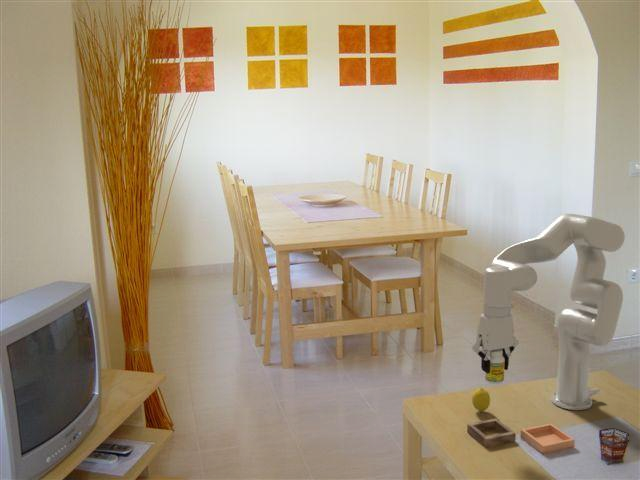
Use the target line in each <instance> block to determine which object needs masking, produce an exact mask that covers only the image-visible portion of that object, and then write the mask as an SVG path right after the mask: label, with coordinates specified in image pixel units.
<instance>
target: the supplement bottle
mask: <svg viewBox="0 0 640 480" xmlns="http://www.w3.org/2000/svg"><path fill="white" fill-rule="evenodd" d="M488 360H490V373H486V372H484V373H485V375H484V376H485V377H484V380H485V381H486V382H487V383H489V384H493V385H499V384H503V383H504V382H505V369H504V365H505V359H504V357H503V356H502V349H497V350H491V352H490V355H489V358H488Z"/></svg>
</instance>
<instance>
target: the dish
mask: <svg viewBox="0 0 640 480" xmlns="http://www.w3.org/2000/svg"><path fill="white" fill-rule="evenodd" d="M520 438H521V439H522V440H523V441H525V442H526V443H527V444H528V445H530V447H532V448H534V449H536V450H537V451H538V452H539V453H541V455H548V454H550V453H551V454H553V453H556V452H557V453H558V452H561V451H565V450H569V449H574V448H575V438H573V437H572V436H570V435H569V434H568V433H566V432H564V431H563V430H561V428H558V427H557V426H556V425H554V424H553V423H551V422H549V423H545V424H542V425H537V426H531V427H527V428H522V429H520Z"/></svg>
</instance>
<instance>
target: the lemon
mask: <svg viewBox="0 0 640 480" xmlns="http://www.w3.org/2000/svg"><path fill="white" fill-rule="evenodd" d="M471 401H472V405H473V407H474V408H475V410H478V411H479V412H480V413H481V412H484V411H486V410H487V409H488V408H489V407H490V405H491V397H490V393H489V391H487V390H486V389H485V388H482V387H480V388H478V389H476V390H475V391H474V392H473V395H472V399H471Z"/></svg>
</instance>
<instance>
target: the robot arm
mask: <svg viewBox="0 0 640 480" xmlns="http://www.w3.org/2000/svg"><path fill="white" fill-rule="evenodd" d="M625 237H626V236H625V232H624V229H623V228H622V227H621V226H620V225H618V224H617V223H613V222H610V221H606V220H603V219H600V218H597V217H594V216H587V215H582V214H575V213H563V214H561V215H559V216H558V217H557V218H556V219H554V220H553V222H551V223H550V224H549V225H548V226H547V227H546V228H545V229H544V230H542V232H540V233H539V234H538V235H537V236H535V237H533V238H530V239H527V240H525V241H521V242H519V243H516V244H513V245H511V246H509V247H507V248H505V249H504V250H502V252H500V253H499V254H498V255H497V256H495V258H494V259H493V260H492V261H491V263H490V264H489V266H488V267H487V268H486V269H485V270H484V275H483V301H482V303H483V305H482V313H481V314H480V315H479V319H478V323H477V329H476V338H475V339H476V340H475V341H476V342H475V343H474V344H473V346H472V347H471V350H472V351H473V352H474V353H475V354H477V356H479V358H480V359H481V360H480V361H481V366H480V368H481V370H482V371H483V372H484V373H485V372H486V373H490V360H488V358H489V355H490V352H491V350H497V349H502V356H503V357H504V359H505V365H504V371H508V370H509V365H510V364H509V362H510V357H511V356H512V353H513V351H514V350H515V348H516V347H517V346H518V345H519V343H520V341H519V340H518V339H517V338H516V337H515V329H514V328H515V327H514V326H515V325H514V318H513V314H511V310H513V309H514V306H515V305H514V304H513V303H511V301H512V292H524V291H528V290H530V289H532V288H533V287H534V286H535V285H536V284H537V281H538V274H537V271H536V270H535V269H534V268H533V267H532V266H530V265H528V264H537V263H538V264H539V263H547V262H552V261H554V260H557V258H559V257H560V256H561V254H563V253H564V252H565V251H566V250H567V249H568V248H570V246H571V245H572V244H573V246H574V248H575V252H576V255H577V261H576V266H575V269H574V275H573V279H572V283H571V287H570V292H569V296H570V299H571V301H572V302H573V303H575V304H578V305H581V306H583V307H587V308H590V309H595V310H597V313H594V312H591V311H588V310H585V309H581V308H576V307H566V308H564V309H562V311H561V312H559V314H558V316H557V320H556V322H557V326H556V327H557V333H558V345H559V346H558V347H559V348H558V364H557V377H556V378H557V380H556V391H555V392H554V393H552V395H551V400H550V401H551V402H552V403H553V404H554V405H556V406H557V407H560V408H561V409H566V410H570V411H583V410H584V411H585V410H588V409H590V408H591V407H592V406H593V400H592V398H591V397H593V395H598V394H600V392H601V390H600V389H599V387H595V388H591V387H590V386H589V381H590V380H589V379H590V366H591V348H590V346H589V344H590V345H593V346H595V347H599V348H600V347H601V348H602V347H603V348H604V347H607V346H609V344H610V343H611V342H612V340H613V339H614V336H615V332H616V329H617V325H618V321H619V318H620V314H621V310H622V305H623V301H624V293H623V290H622V289H623V288H621V286H620V285H619V284H618V283H616V282H614V281H611V280H607V279H604V275H605V270H606V267H607V266H606V265H607V263H606V262H607V261H606V258H605V257H606V256H605V254H604V252H609V253H612V252H616V251H618V250H620V249H621V247H622V246H623V245H624V243H625ZM603 251H604V252H603ZM480 348H481V350H480Z"/></svg>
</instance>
